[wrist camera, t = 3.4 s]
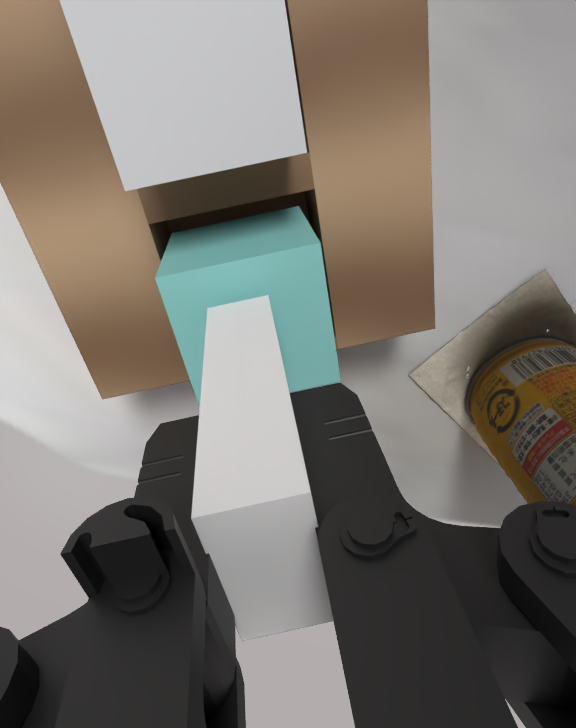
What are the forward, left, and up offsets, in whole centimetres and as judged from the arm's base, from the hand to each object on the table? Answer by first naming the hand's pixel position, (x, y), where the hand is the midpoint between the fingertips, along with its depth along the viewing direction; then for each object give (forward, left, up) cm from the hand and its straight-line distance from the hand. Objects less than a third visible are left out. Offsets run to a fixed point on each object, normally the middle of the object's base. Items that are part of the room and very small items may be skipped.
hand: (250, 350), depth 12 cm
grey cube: (-6, 0, -4) cm, 8 cm away
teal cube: (0, 0, -4) cm, 4 cm away
